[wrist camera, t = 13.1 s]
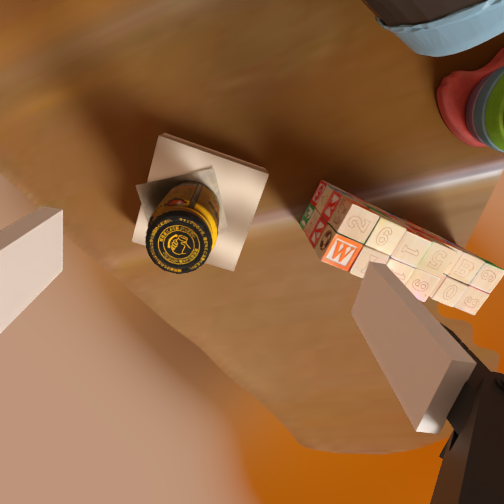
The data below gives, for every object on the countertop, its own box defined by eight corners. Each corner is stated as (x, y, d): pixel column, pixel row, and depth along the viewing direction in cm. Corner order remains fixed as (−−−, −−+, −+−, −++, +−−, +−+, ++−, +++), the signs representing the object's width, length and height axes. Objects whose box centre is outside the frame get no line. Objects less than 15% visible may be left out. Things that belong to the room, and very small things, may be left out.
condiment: (229, 232, 41) (229, 275, 30) (156, 247, 41) (128, 296, 30) (214, 167, 38) (207, 188, 27) (135, 184, 38) (97, 212, 27)
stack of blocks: (458, 243, 49) (529, 284, 37) (431, 282, 51) (491, 332, 39) (319, 178, 44) (353, 202, 33) (296, 223, 46) (320, 261, 35)
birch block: (166, 132, 41) (158, 135, 37) (264, 167, 44) (269, 174, 39) (141, 228, 45) (131, 241, 41) (232, 255, 47) (233, 271, 43)
